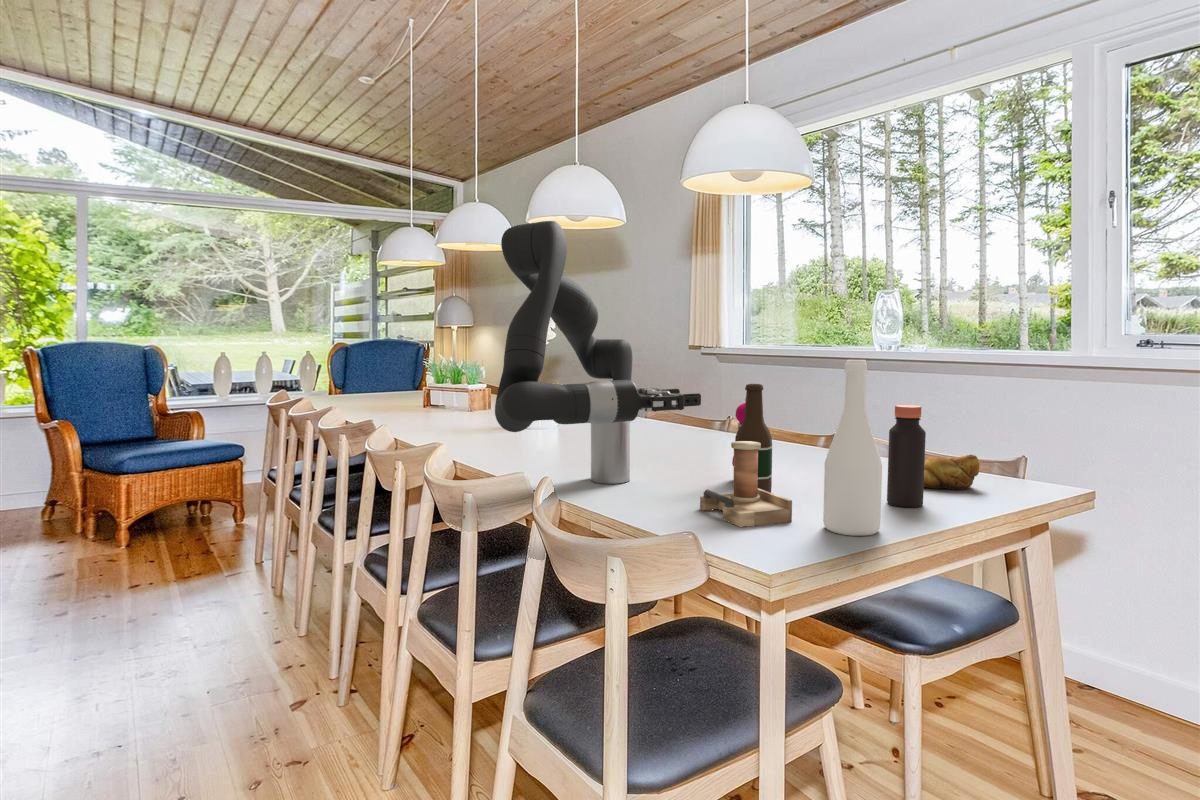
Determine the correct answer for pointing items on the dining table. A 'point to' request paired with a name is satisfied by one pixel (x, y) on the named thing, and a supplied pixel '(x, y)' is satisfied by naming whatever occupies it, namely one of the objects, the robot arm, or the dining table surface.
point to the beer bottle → (757, 434)
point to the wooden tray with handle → (749, 508)
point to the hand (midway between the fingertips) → (689, 396)
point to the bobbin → (745, 471)
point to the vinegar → (906, 458)
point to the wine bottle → (853, 465)
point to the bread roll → (950, 472)
